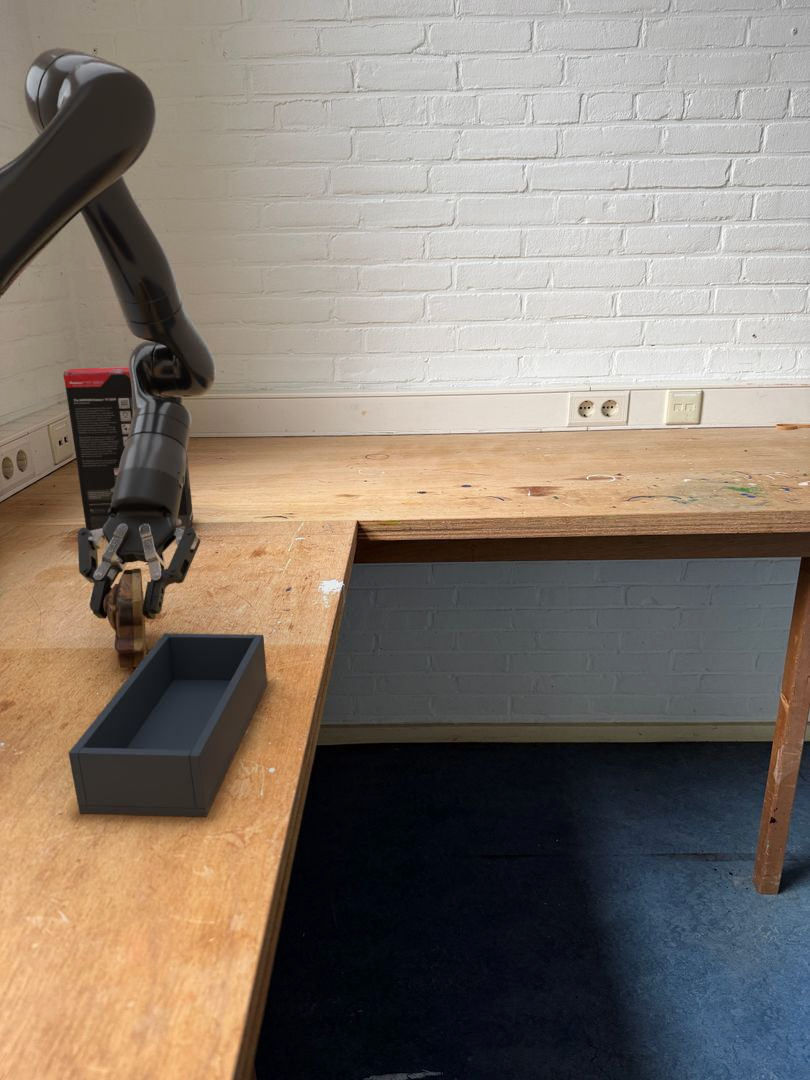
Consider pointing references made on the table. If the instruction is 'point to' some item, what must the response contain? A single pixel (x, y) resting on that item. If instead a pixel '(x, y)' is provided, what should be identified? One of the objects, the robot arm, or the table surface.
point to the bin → (171, 727)
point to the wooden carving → (127, 618)
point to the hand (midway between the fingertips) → (124, 615)
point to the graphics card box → (105, 438)
